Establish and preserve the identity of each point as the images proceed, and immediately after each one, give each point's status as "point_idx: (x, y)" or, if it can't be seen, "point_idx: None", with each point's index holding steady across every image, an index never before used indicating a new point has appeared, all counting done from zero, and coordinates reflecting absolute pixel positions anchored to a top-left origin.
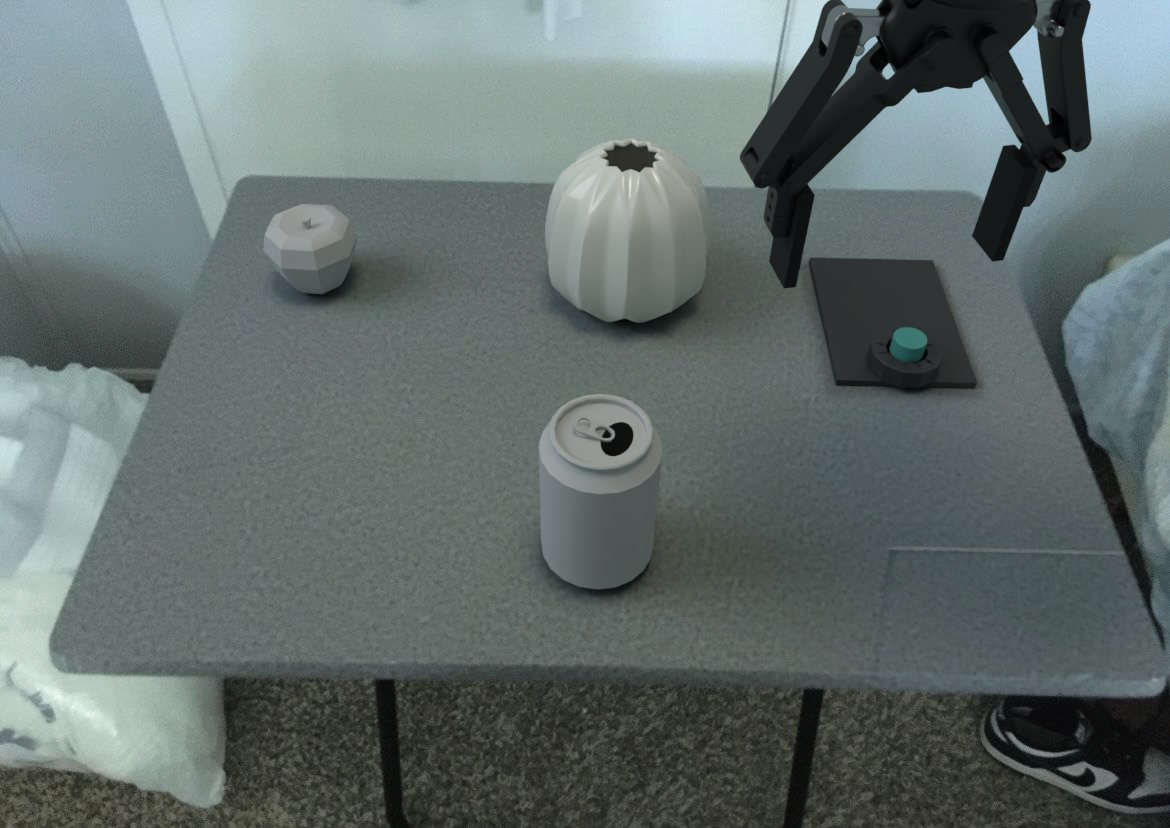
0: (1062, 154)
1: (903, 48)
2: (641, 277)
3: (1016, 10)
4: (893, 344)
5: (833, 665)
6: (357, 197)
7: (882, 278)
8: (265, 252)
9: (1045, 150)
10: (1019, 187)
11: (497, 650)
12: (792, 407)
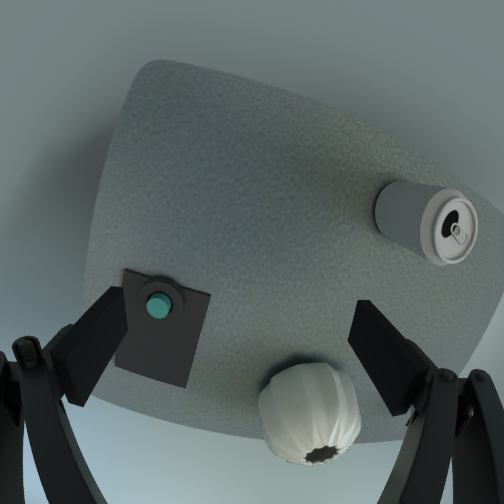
0: (15, 353)
1: None
2: (324, 383)
3: None
4: (169, 307)
5: (311, 99)
6: (381, 437)
7: (148, 363)
8: None
9: (33, 371)
10: (77, 340)
11: (445, 173)
12: (247, 283)
